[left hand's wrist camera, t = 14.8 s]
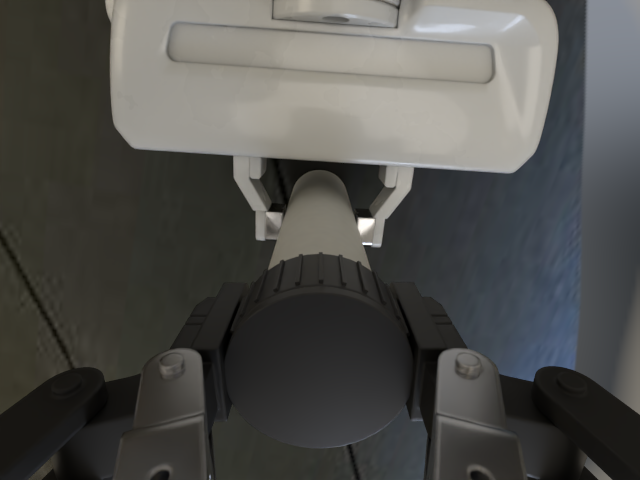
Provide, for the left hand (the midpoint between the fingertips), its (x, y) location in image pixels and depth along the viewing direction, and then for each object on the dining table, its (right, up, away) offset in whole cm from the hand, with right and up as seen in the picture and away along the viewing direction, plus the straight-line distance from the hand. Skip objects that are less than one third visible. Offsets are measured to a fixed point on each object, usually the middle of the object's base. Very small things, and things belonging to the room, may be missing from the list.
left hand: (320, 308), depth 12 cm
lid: (0, -1, -3) cm, 3 cm away
